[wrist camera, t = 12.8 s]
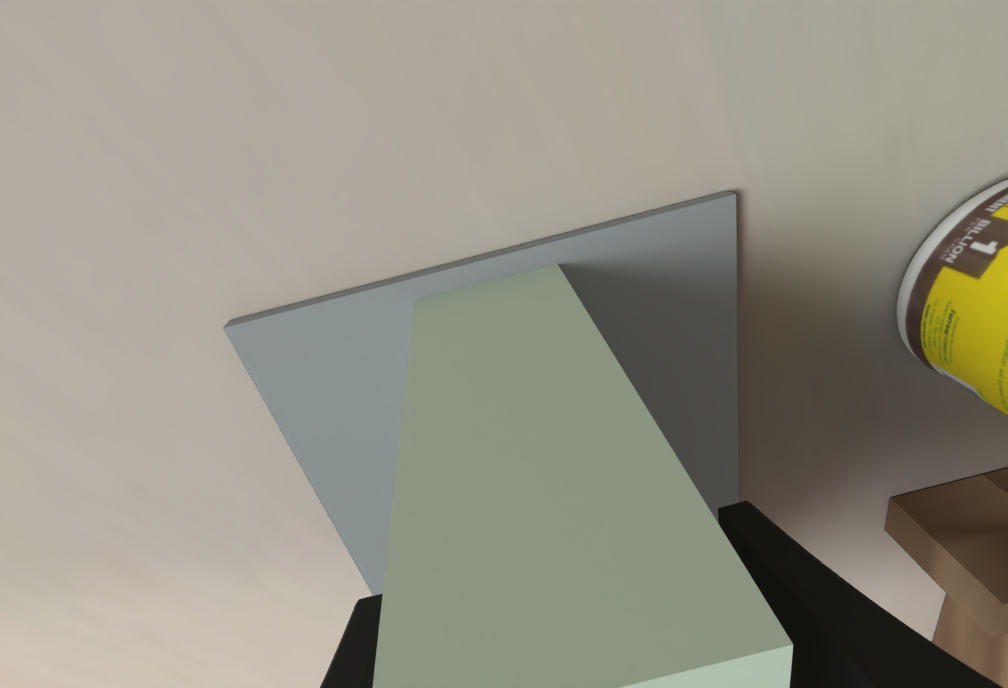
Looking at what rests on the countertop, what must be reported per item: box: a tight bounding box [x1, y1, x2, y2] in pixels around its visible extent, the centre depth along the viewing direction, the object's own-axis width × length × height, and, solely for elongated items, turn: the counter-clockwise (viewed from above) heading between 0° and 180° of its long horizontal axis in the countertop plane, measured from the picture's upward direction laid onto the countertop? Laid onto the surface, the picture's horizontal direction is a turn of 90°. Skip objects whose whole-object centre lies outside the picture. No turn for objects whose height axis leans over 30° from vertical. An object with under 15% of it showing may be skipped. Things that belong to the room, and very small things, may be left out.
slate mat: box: [223, 191, 739, 596], centre depth 15 cm, size 12×12×1 cm
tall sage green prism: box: [372, 264, 793, 688], centre depth 11 cm, size 3×11×9 cm, turn 13°
